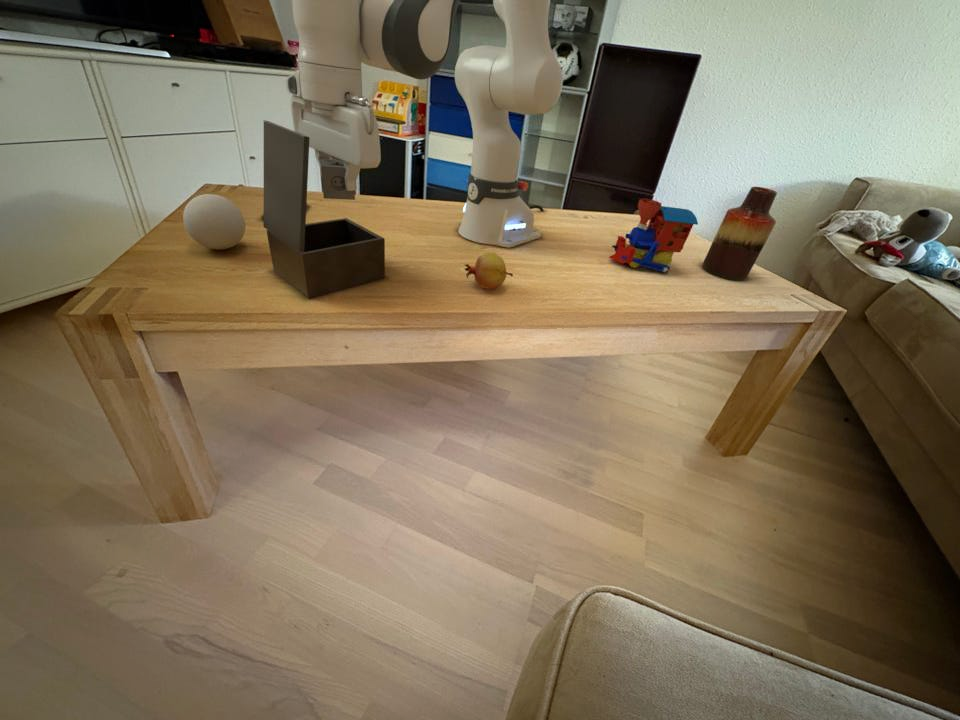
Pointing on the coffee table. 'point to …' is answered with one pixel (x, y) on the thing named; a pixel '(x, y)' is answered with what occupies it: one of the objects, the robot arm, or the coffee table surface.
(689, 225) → the toy train
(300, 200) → the lid
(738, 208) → the vase
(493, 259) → the fruit
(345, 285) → the box
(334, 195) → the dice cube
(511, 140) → the robot arm
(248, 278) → the coffee table surface
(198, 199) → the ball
